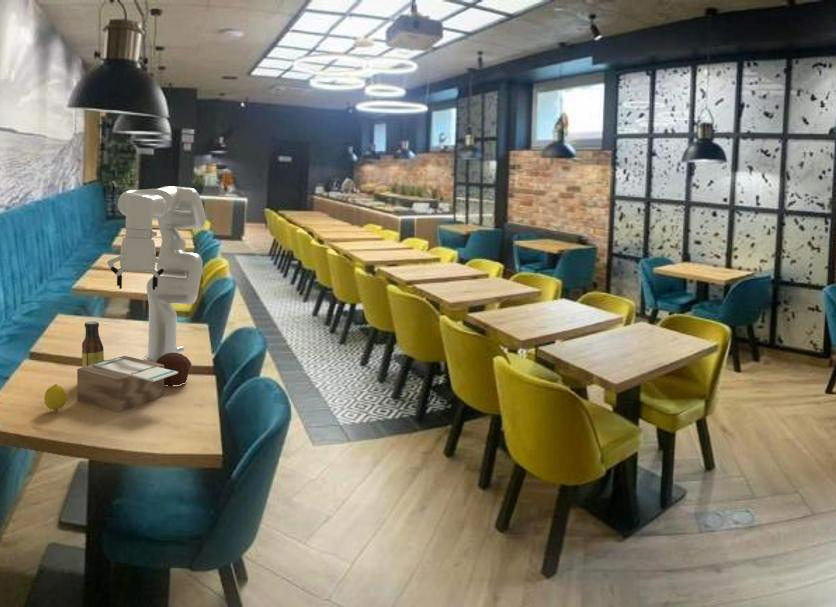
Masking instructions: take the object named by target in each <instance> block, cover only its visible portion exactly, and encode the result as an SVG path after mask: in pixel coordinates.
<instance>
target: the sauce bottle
mask: <svg viewBox="0 0 836 607" xmlns="http://www.w3.org/2000/svg"><path fill="white" fill-rule="evenodd" d="M99 327H100V323H99V321H96V320H94V321H93V320H91V321H86V322H84V328H85V334H84V335H85V337H84V340H83V341H82V344H81V349H82V350H81V357H82V359H81V360H82V361H81V363H82V367H86V366H89V365H93V364H96V363H100V362H104V361H105V358H104V357H105V356H104V354H105V353H104V345H103V343H102V339H101V337H100V333H99ZM82 367H81V368H82Z"/></svg>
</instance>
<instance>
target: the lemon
mask: <svg viewBox="0 0 836 607" xmlns="http://www.w3.org/2000/svg"><path fill="white" fill-rule="evenodd" d="M43 399H44V403H45V406H46V407H47V408H48V409H50V410H52V411H54V412H58V411H59V410H60V409H62V408H63V407H65V405H66V403H67V400H68V395H67V391H66V389H65V388H64V387H63V386H61V385H58V384H53V385H51V386H50V387H48V388H47V389H46V391H45V393H44V398H43Z"/></svg>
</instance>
